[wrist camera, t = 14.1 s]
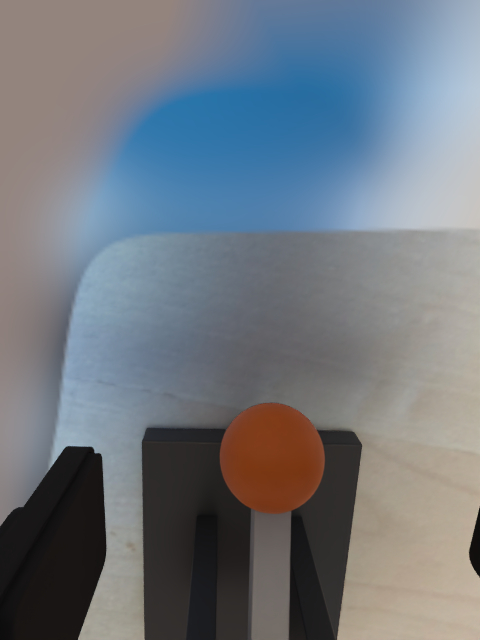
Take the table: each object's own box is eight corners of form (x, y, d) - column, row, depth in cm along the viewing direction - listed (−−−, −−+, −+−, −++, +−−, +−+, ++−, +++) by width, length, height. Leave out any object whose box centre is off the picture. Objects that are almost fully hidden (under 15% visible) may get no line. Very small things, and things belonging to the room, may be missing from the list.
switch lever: (221, 395, 14) (222, 409, 10) (311, 398, 14) (339, 412, 11) (208, 768, 13) (205, 910, 9) (305, 766, 13) (335, 904, 10)
